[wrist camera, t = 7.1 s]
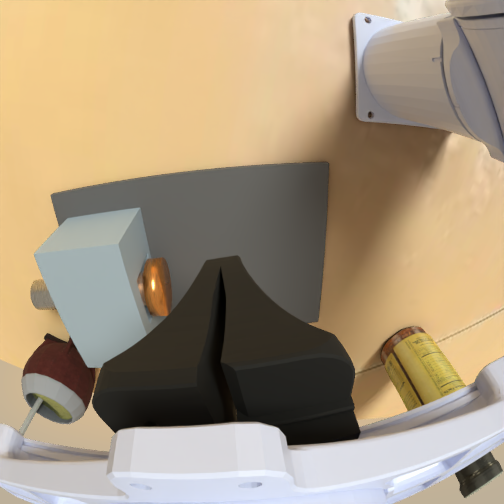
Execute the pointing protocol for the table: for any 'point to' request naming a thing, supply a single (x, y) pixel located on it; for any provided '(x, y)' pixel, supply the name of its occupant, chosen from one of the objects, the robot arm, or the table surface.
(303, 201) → the mat
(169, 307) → the pin
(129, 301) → the block
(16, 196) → the table surface
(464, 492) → the sauce bottle
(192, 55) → the table surface
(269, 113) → the table surface
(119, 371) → the robot arm
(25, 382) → the mate gourd
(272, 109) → the table surface
